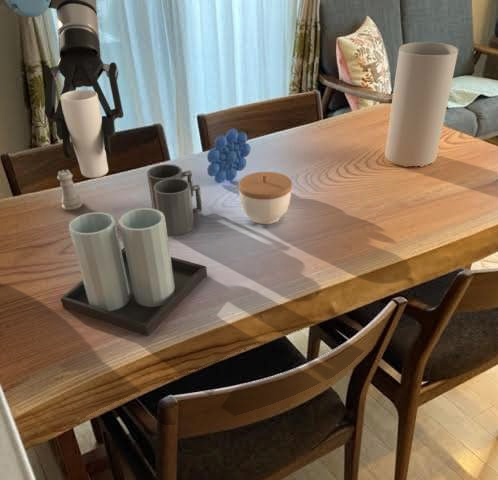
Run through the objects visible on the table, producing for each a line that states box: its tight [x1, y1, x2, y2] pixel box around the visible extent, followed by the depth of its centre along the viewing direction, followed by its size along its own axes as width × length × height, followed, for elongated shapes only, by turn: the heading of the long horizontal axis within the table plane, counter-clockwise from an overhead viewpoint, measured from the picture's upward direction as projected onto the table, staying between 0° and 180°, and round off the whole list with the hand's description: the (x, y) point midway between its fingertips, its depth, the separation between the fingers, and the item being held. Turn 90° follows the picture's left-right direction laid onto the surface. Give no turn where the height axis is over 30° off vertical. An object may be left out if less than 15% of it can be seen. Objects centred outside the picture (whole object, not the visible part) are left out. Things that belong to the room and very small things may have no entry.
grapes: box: [206, 128, 251, 184], centre depth 124 cm, size 12×7×12 cm, turn 124°
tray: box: [59, 247, 208, 337], centre depth 93 cm, size 17×18×2 cm
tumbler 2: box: [118, 207, 175, 307], centre depth 87 cm, size 7×7×15 cm
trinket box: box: [238, 171, 293, 225], centre depth 110 cm, size 11×11×9 cm
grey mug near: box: [153, 178, 203, 236], centre depth 108 cm, size 10×7×9 cm
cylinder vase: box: [384, 41, 459, 168], centre depth 126 cm, size 12×12×25 cm
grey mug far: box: [146, 164, 195, 210], centre depth 114 cm, size 10×7×9 cm
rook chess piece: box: [56, 169, 83, 212], centre depth 116 cm, size 4×4×8 cm
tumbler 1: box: [68, 211, 131, 311], centre depth 87 cm, size 7×7×15 cm
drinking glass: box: [59, 89, 109, 179], centre depth 102 cm, size 7×7×15 cm
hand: (87, 153), depth 101 cm, fingers closed on drinking glass, 7 cm apart
